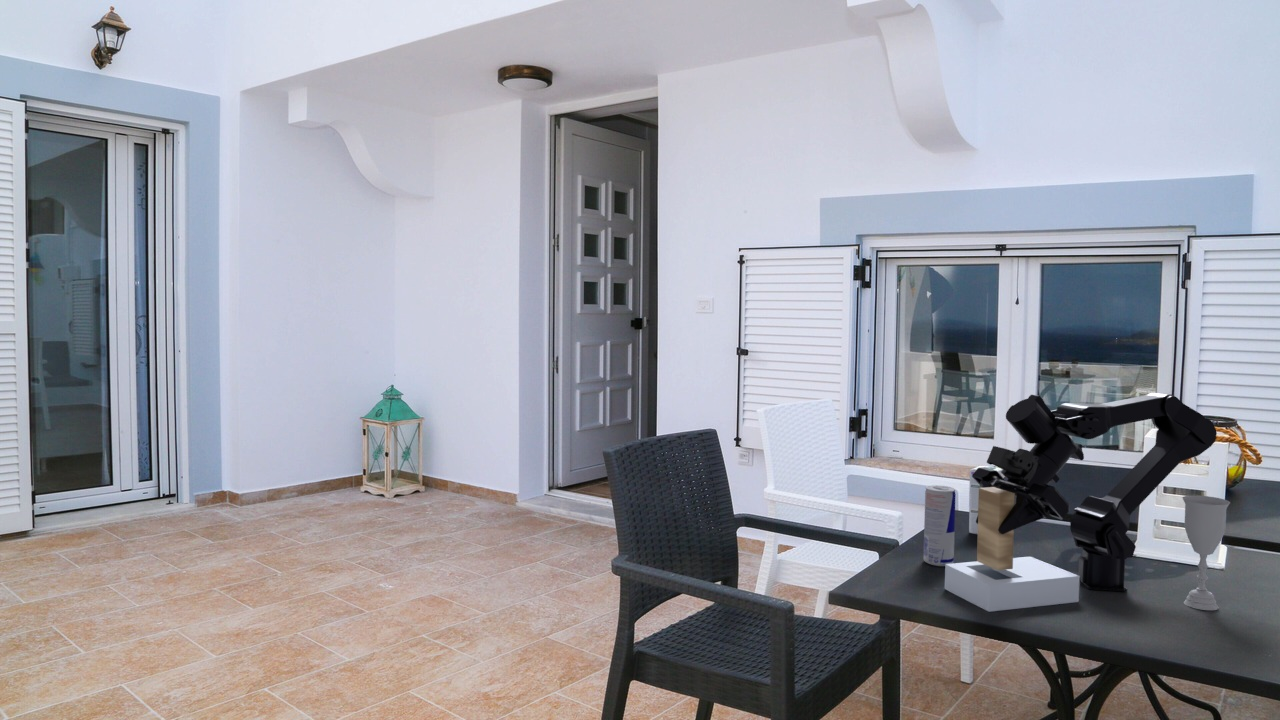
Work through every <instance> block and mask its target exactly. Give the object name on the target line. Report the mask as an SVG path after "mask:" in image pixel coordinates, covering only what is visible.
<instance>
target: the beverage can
mask: <svg viewBox="0 0 1280 720" xmlns="http://www.w3.org/2000/svg"><path fill="white" fill-rule="evenodd" d="M924 492H925V493H924V525H923V527H924V529H923V531H924V532H923V561H924V562H925V563H927V564H928V565H931V566H935V567H945V564H953V563H955V562H954V561H955V559H954V558H955V528H956V526H955V522H956V495H957V494H956V488H955V487H951V486H947V485H927V486H925V491H924Z"/></svg>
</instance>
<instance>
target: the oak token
mask: <svg viewBox="0 0 1280 720" xmlns="http://www.w3.org/2000/svg"><path fill="white" fill-rule="evenodd" d="M1015 497H1016V495H1015V493H1011V492H1008V491H1005V490H1002V489H998V488H995V487H986V488H979V500H978V534H977V541H976V543H977V544H976V545H977V547H976V548H977V549H976V561H978V562H980V563H982V564H984V565H987V566H989V567H991V568H993V569H996V570H1006V569H1013V558H1014V539H1015V538H1014V535H1015V534H1014V533H1015V529H1014V530H1012V531H1010V532H1007V533H1005V534H1001V533H1000V532H999V531H998V529H999V527H1000V525H1001V524H1002V522H1003V521H1004V519H1005V518H1006V516H1007V515H1008V514H1009V512H1010V511H1011V509H1012V508H1013V507H1014V505H1015V504H1016V498H1015Z"/></svg>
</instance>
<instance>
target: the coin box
mask: <svg viewBox="0 0 1280 720" xmlns="http://www.w3.org/2000/svg"><path fill="white" fill-rule="evenodd" d="M944 567H945V568H944V590H946V591H948V592H949V593H952V594H954V595H955V596H957V597H959V598H961V599H963V600H965V601H967V602H968V603H971V604H972V605H975V606H977V607H978V608H981V609H983V610H984V611H986V612H988V613H989V612H997V611H998V612H999V611H1007V610H1016V609H1027V608H1033V607H1044V606H1052V605H1059V604H1060V605H1062V604H1071V603H1073V604H1074V603H1079V600H1080V598H1079V597H1080V580H1079V577H1080V576H1078V574H1076V573H1072V572H1070V571H1069V570H1065V569H1063V568H1061V567H1057V566H1055V565H1052V564H1050V563H1047V562H1044V561H1042V560H1040V559H1037V558H1035V557H1034V556H1023V557H1022V556H1021V557H1013V569H1006V570H996V569H993V568H991V567H989V566H987V565H984V564H982V563H980V562H978V561H977V560H976V561H966V562H956V563H955V562H954V563H953V564H945V566H944Z"/></svg>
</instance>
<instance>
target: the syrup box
mask: <svg viewBox="0 0 1280 720" xmlns="http://www.w3.org/2000/svg"><path fill="white" fill-rule="evenodd" d="M982 467H985V468H989V469H992V470H996V471H997V472H998V473H999V474H1000V475H1001V476H1002V477H1003V479H1004V478H1005V476H1004V475H1003V474H1002V473H1001V472H1002V470H1003V469H1001V468H999V467H997V466H991V465H978V466H976V467H973V468H971V469H969V498H968V499H969V501H968V502H969V503H968V504H969V505H968V507H969V509H968V510H969V511H968V519H969V520H968V532H969V533H970V534H974V535H978V524H977V523H976V519H977V516H978V500H979V488H982V487H981V486H980V485H979V484H978V483H977V482H976V480H975V479H974V478H973V477H972V475H973V474H974V472H975V471H976V470H977V469H978V468H982ZM1004 480H1005V479H1004Z"/></svg>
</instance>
